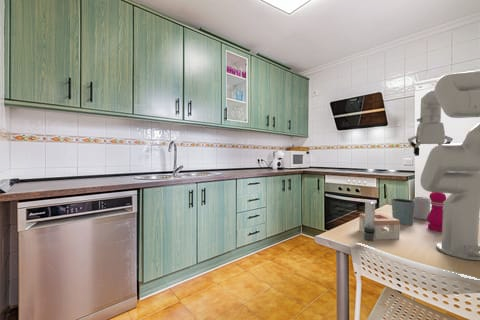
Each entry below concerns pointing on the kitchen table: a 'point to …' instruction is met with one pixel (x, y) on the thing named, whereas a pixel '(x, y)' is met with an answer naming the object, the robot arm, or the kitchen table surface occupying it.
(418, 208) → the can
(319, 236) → the kitchen table surface
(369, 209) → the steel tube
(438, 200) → the pepper mill
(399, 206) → the grey teal tapered bin
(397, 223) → the collar stand
